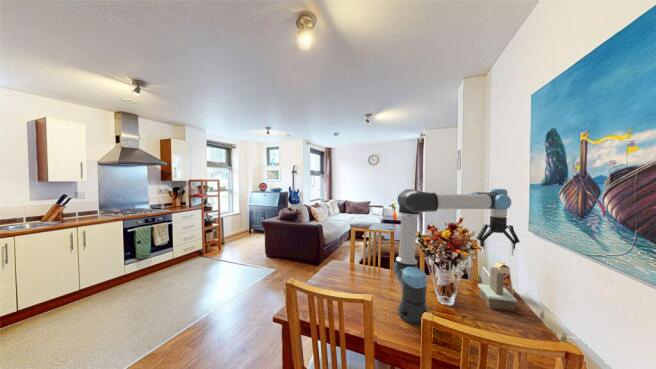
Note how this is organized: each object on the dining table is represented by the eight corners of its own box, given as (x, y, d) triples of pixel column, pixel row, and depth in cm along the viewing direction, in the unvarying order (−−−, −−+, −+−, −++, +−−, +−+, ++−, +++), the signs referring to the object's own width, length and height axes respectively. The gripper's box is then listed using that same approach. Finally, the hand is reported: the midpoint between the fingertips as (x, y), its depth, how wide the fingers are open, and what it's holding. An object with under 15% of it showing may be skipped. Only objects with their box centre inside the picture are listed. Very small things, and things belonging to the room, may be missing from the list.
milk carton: (513, 297, 136) (515, 264, 136) (496, 295, 138) (497, 263, 138) (505, 289, 145) (506, 259, 145) (489, 288, 147) (490, 257, 146)
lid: (516, 301, 120) (517, 277, 120) (488, 298, 124) (489, 274, 123) (502, 288, 135) (503, 266, 134) (477, 285, 138) (478, 264, 138)
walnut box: (514, 312, 121) (515, 301, 121) (489, 308, 124) (489, 298, 124) (501, 298, 135) (502, 288, 135) (478, 295, 138) (479, 286, 137)
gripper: (520, 216, 128) (519, 253, 129) (471, 214, 134) (470, 249, 135) (528, 218, 121) (527, 257, 122) (475, 216, 127) (474, 253, 128)
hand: (497, 253), depth 129 cm, fingers open, 13 cm apart
